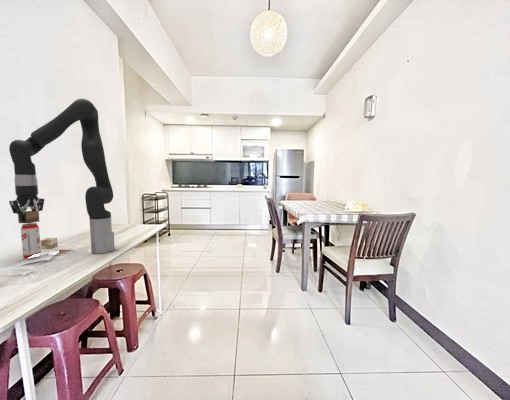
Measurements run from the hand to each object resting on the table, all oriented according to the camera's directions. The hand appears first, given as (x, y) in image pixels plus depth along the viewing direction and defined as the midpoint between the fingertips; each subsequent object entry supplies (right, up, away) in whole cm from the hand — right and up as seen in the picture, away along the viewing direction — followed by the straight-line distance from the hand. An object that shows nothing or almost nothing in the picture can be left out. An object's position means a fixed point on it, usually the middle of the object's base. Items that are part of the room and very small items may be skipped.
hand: (29, 221), depth 111 cm
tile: (+7, -17, +9) cm, 20 cm away
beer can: (0, -18, +1) cm, 18 cm away
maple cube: (-6, -16, +18) cm, 25 cm away
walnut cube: (0, 0, 0) cm, 1 cm away
